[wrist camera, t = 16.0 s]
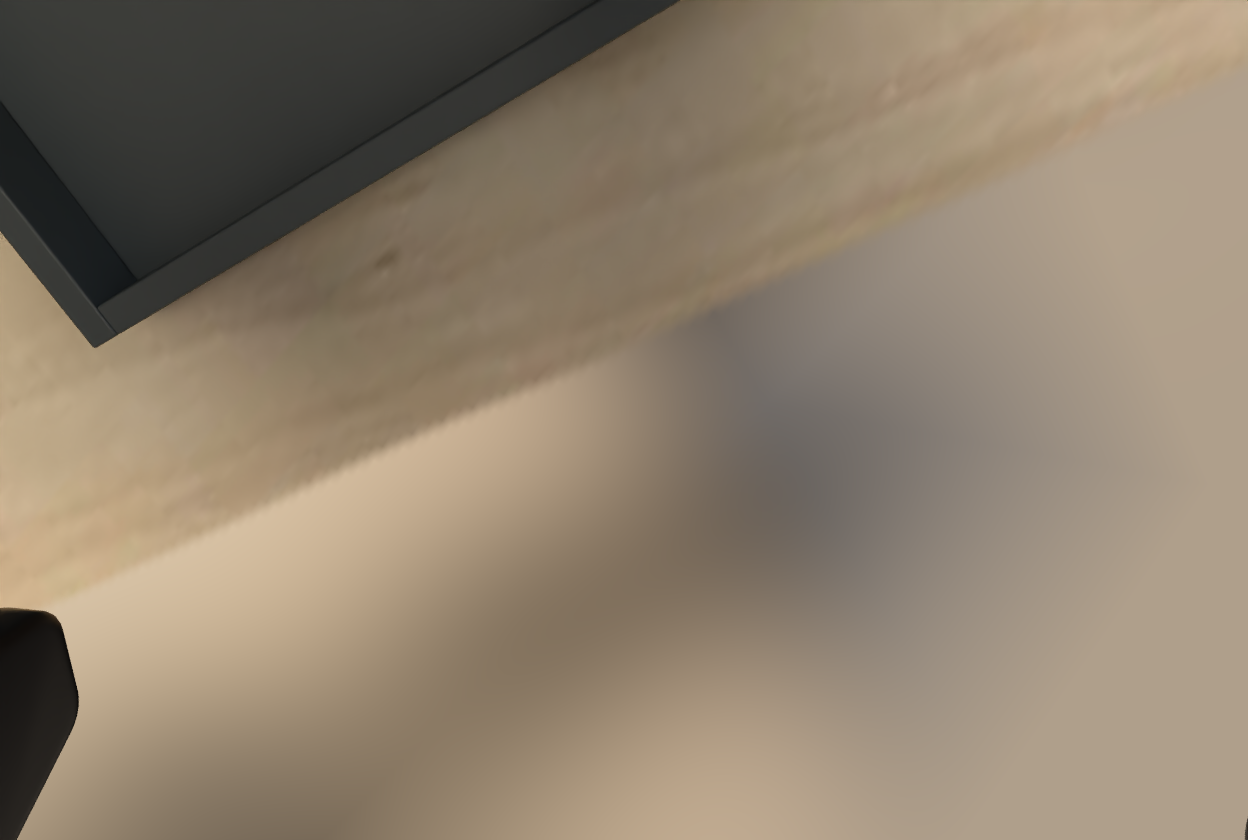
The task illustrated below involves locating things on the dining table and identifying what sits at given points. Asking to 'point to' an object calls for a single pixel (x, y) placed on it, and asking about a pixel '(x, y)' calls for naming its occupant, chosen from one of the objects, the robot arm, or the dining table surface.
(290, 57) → the rectangular tray
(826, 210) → the dining table surface
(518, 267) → the dining table surface
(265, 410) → the dining table surface
